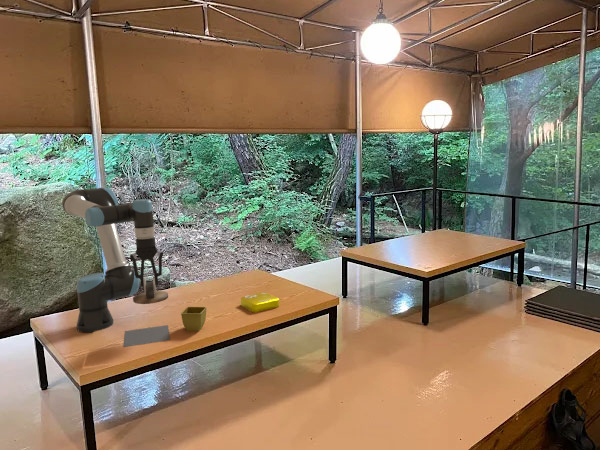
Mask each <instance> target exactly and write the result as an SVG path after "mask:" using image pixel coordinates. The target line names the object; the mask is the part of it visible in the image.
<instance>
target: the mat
mask: <svg viewBox="0 0 600 450" xmlns="http://www.w3.org/2000/svg"><path fill="white" fill-rule="evenodd" d="M123 336H124V338H123V345H122V347H123V348H126V347H134V346H140V345H147V344H154V343H161V342H167V341H171V337H170V330H169V325H168V324H167V325H166V324H165V325H159V326H152V327H147V328H146V327H145V328H143V327H142V328H138V329H130V330H124V335H123Z"/></svg>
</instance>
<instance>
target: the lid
mask: <svg viewBox="0 0 600 450" xmlns="http://www.w3.org/2000/svg"><path fill="white" fill-rule="evenodd" d="M167 299H169V293H168V292H167V291H162V290H156V293H154V286H153V281H146V295H145V292H141V293H138V294H135V295H134V296H133V297H132V302H133V303H135V304H138V305H150V304H157V303H160V302H164V301H166V300H167Z"/></svg>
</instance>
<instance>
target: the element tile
mask: <svg viewBox="0 0 600 450" xmlns="http://www.w3.org/2000/svg"><path fill="white" fill-rule="evenodd" d="M240 307H242V308H243V309H246V310H248V311H249V312H252V313H259V312H263V311H267V310H271V309H275V308H279V307H280V298H279V297H277V296H275V295H272V294H270V293H269V292H266V291H263V292H259V293H254V294H250V295H245V296H242V297H241V298H240Z"/></svg>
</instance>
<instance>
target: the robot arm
mask: <svg viewBox="0 0 600 450" xmlns="http://www.w3.org/2000/svg"><path fill="white" fill-rule="evenodd" d="M118 202H119V201H118V198H117V195H116V194H115V192H114V191H113V190H112V189H111V188H109V187H99V188H86V189H75V190H73V191H70V192H69V193H67V194H66V195H65V196H64V197H63V199H62V201H61V207H62V209H63V211H64V212H65V213H67V214H68V215H70V216H72V217H80V218H82V219H84V220H85V222H86V224H87V225H88V226H89V227H96V231H97V235H98V238H99V242H100V246H101V250H102V253H103V256H104V260H105V263H106V267H107V268H106V269H105V272H104V273H103V272H95V273H90V274H85V275H84V276H82V277H80V278H79V279H78V280H77V282H76V293H77V299H78V300H77V301H78V310H79V314H78V317H77V321H76V329H77V331H78V330H79V331H78V332H80V331H82V332H81V333H94V332H96V331H101V330H104V329H107V328H110V327H111V326H113V324H114V318H113V316H112V314H111V311H110V310H109V306H108V301H113V300H117V299H121V298H125V297H129V296H133V295H134V296H135V295H137V293H138V291H139V289H140V286H141V287H143V288H144V289H143V291H144V292H143V293H145V295H146V282H147V280H146V277H144V273H145V261H149V262H150V265H151V268H152V272H153V276H152V282H153V286H154V293H156V291H157V287H156V286H158V284H159V277H161V276H162V274H163V273H162V272H163V256H164V251H163V250H161V251H160V250H158V248H157V247H156V246H157V245H156V243H157V242H156V238H155V235H156V234H155V223H154V222H155V221H154V212H153V211H154V209H153V202H152V200H151V199H148V198H147V199H146V198H141V199H134V200H132V202H126V203H123V204H118ZM129 222H133V224H134V234H135V246H136V250H135V252H133V253H130V255H129V258H130V259H131V260H130V261H132V265H131V264H129V263H128V262H127V260H126V257H125V253H124V250H123V245H122V243H121V239H120V238H121V237H120V235H119V231H118V228H117V224H123V223H124V224H125V223H129ZM156 255H157V256H158V272H157V268H156V264H155V260H154V258H155V256H156ZM137 257H138V258H140V260H141V262H140V274H139V270H138V269H139V268H138V265H137V264H138V263H137V260H136V259H137ZM132 266H133V268H132Z"/></svg>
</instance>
